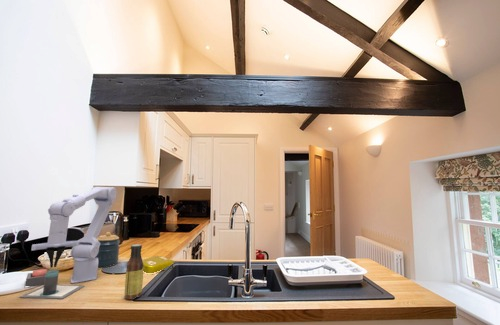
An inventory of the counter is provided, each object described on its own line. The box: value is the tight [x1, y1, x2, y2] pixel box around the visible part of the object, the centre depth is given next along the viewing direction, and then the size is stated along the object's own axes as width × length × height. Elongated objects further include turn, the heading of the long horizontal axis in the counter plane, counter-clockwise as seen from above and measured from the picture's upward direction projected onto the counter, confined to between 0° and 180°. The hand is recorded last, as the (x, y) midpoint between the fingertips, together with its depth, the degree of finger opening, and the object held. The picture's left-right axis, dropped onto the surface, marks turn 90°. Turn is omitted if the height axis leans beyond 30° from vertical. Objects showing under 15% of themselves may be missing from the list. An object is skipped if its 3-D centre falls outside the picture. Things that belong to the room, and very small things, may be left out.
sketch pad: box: [19, 283, 86, 300], centre depth 92 cm, size 16×12×1 cm
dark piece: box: [43, 269, 60, 295], centre depth 90 cm, size 4×4×8 cm
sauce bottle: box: [123, 243, 144, 300], centre depth 92 cm, size 7×6×20 cm
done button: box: [31, 268, 48, 277], centre depth 101 cm, size 5×5×3 cm
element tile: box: [142, 255, 174, 273], centre depth 125 cm, size 15×15×5 cm
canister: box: [95, 231, 121, 269], centre depth 129 cm, size 13×13×18 cm
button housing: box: [24, 269, 51, 287], centre depth 100 cm, size 8×8×4 cm
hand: (53, 266), depth 91 cm, fingers closed
